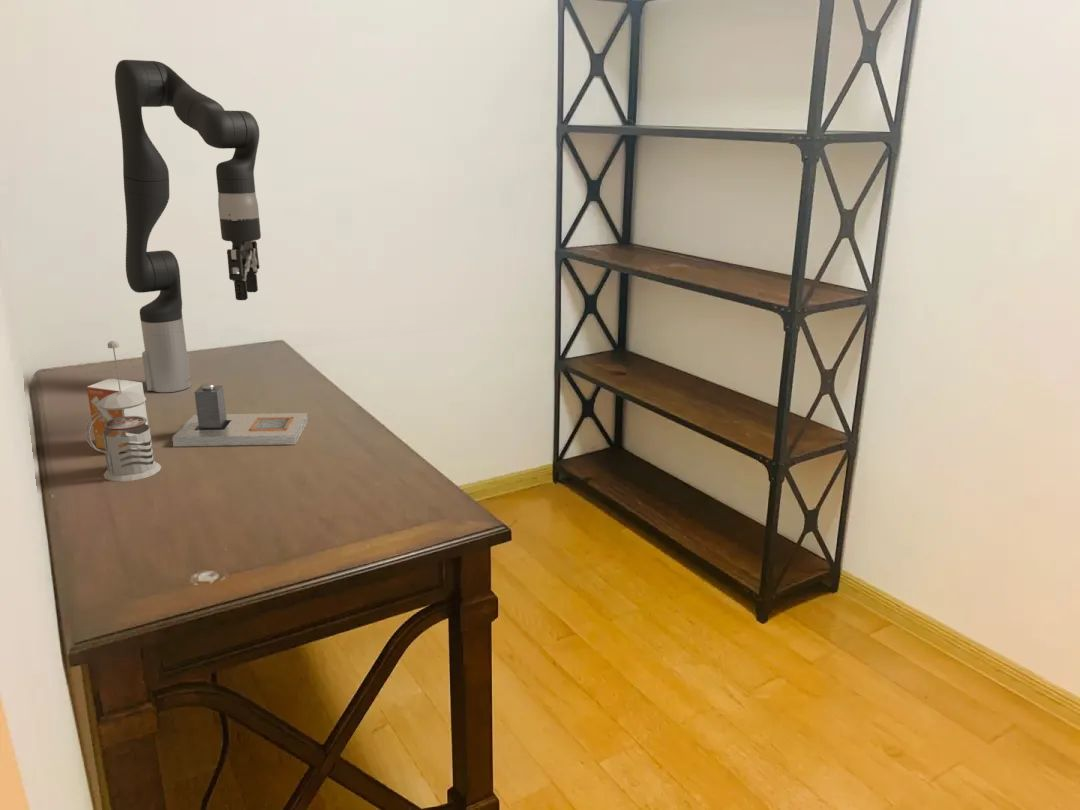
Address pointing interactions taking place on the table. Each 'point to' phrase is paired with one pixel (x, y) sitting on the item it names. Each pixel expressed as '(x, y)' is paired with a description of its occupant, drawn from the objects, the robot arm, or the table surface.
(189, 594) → the table surface
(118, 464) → the french press
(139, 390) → the small box
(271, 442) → the rail plate
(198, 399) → the block with round knob
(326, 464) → the table surface
